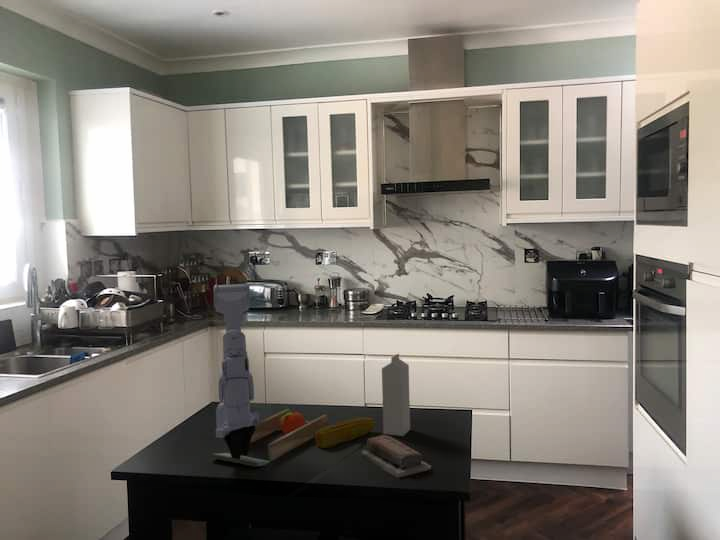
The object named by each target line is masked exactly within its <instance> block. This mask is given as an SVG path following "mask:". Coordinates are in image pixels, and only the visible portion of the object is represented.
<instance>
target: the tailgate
mask: <svg viewBox="0 0 720 540" xmlns="http://www.w3.org/2000/svg"><path fill="white" fill-rule="evenodd" d="M210 459H216V460H220V461H221V460H222V461H225V462H231V463H235V464H241V465H246V466H251V467H262V466H266V465H268V464H270V463H271V462H272V461H269V460H265V459H260V458H255V457H252V456H244V455H241V457H240V459H237V458H232V457H231V453H229V452H221V453H211V454H210Z"/></svg>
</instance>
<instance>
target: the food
mask: <svg viewBox="0 0 720 540" xmlns="http://www.w3.org/2000/svg"><path fill="white" fill-rule="evenodd" d="M375 425H376V421H375V420H374V419H373V418H372V417H367V416H366V417H365V416H363V417H360V416H359V417H356V418H352V419H348V420H343V421H341V422H337V423H334V424H329V425H328V426H326V427H324V428H322V429H320V430H319V431H317V433H316V434H315V437H314V440H315V444H316V446H317V447H320V448H322V449H328V448H332V447H335V446H337V445H339V444H342V443H344V442H346V443H348V442H351V441H354V440H355V439H358V438H361V437H363V436H365V435H367V434H369V433H370V432H371V431H373V429H374V428H375V427H376V426H375Z"/></svg>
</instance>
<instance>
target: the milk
mask: <svg viewBox="0 0 720 540" xmlns="http://www.w3.org/2000/svg"><path fill="white" fill-rule="evenodd" d="M390 361H391V362H390V363H388V364H387V365H385V366H383V367H382V368H381V383H382V384H381V387H382V419H383V421H382V424H383V427H382V428H383V435H388V436H399V437H404V436H405V435H406V434H407V433H408V432H409V431H410V430H411V411H410V410H411V409H410V408H411V406H410V370H409V369H410V368H409V364H408V363H407V362H405V361H403V360H402V359H400V353H396V354H395V355H393V356H392V357H391V360H390Z"/></svg>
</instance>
